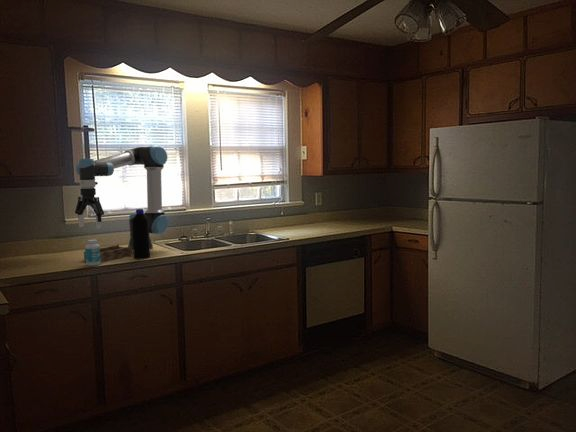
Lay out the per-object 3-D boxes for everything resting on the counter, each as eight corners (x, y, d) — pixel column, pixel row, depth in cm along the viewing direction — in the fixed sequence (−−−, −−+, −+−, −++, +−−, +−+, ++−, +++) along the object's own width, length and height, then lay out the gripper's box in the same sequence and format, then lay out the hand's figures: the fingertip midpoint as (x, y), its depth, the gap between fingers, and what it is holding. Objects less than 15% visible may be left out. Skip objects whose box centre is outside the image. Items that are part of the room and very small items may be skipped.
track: (117, 253, 300) (117, 244, 300) (133, 254, 294) (132, 246, 293) (84, 260, 279) (83, 251, 279) (100, 262, 273) (99, 253, 272)
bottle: (131, 257, 285) (129, 209, 282) (146, 255, 291) (143, 208, 288) (137, 259, 278) (135, 210, 275) (152, 257, 284) (150, 209, 281)
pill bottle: (93, 266, 262) (92, 241, 261) (83, 265, 265) (81, 240, 263) (103, 263, 269) (102, 239, 268) (93, 262, 272) (91, 238, 270)
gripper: (66, 187, 265) (68, 227, 267) (98, 188, 253) (100, 229, 255) (78, 187, 272) (80, 225, 274) (109, 187, 259) (111, 227, 262)
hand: (90, 227), depth 265 cm, fingers open, 13 cm apart
